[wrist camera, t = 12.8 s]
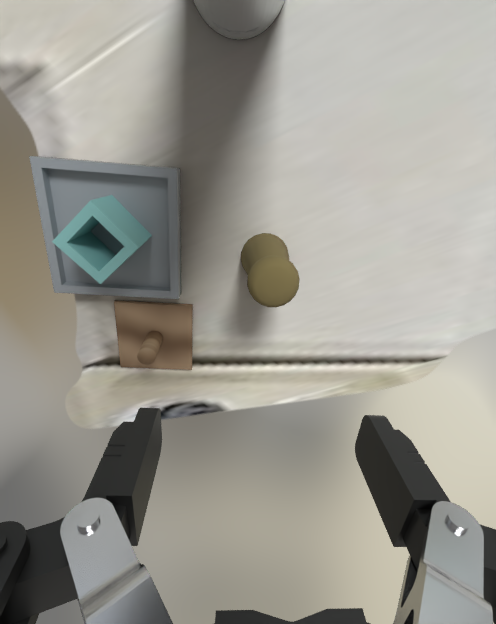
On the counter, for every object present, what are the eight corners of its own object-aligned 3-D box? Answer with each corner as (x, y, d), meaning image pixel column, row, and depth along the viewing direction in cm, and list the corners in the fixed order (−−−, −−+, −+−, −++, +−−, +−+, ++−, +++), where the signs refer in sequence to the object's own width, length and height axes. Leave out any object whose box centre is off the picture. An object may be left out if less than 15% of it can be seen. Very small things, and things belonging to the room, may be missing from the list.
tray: (39, 156, 35) (29, 156, 33) (179, 168, 36) (177, 168, 34) (62, 286, 41) (54, 292, 39) (181, 293, 42) (178, 299, 40)
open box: (111, 194, 36) (90, 200, 31) (152, 235, 38) (138, 247, 33) (70, 238, 38) (42, 251, 32) (110, 275, 40) (91, 293, 34)
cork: (236, 275, 42) (238, 311, 32) (245, 228, 39) (250, 251, 29) (282, 283, 42) (297, 320, 32) (293, 238, 40) (314, 262, 30)
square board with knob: (115, 300, 42) (99, 318, 37) (192, 304, 43) (187, 322, 38) (122, 364, 46) (108, 388, 41) (192, 367, 47) (187, 391, 42)
